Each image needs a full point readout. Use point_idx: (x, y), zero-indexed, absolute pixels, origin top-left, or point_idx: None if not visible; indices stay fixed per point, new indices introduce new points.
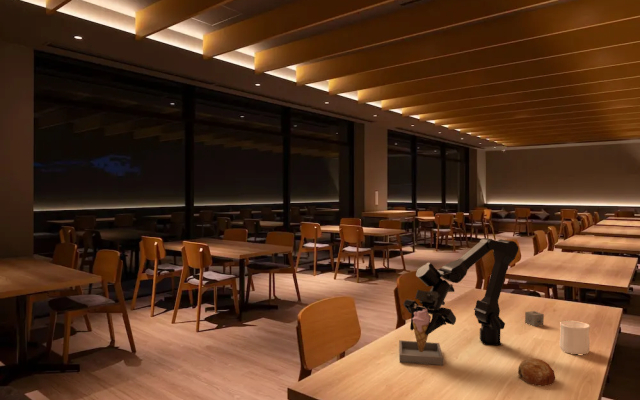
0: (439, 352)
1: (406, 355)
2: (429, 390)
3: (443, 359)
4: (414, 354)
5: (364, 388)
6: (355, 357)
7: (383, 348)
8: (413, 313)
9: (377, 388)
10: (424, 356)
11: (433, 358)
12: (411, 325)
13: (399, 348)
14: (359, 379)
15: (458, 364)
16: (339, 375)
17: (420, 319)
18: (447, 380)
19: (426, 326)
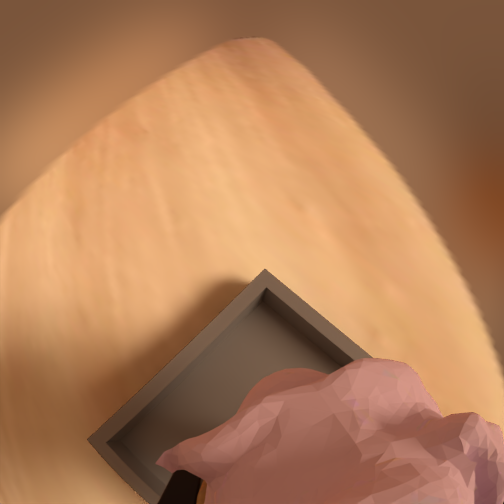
0: (160, 496)
1: (238, 295)
2: (35, 203)
3: (90, 438)
4: None
5: (174, 92)
6: (380, 179)
7: (433, 332)
8: (493, 425)
9: (150, 109)
10: (162, 371)
11: (126, 404)
12: None
13: (350, 340)
14: (222, 103)
15: (80, 501)
16: (273, 88)
17: (249, 414)
18: (18, 309)
19: (203, 485)
